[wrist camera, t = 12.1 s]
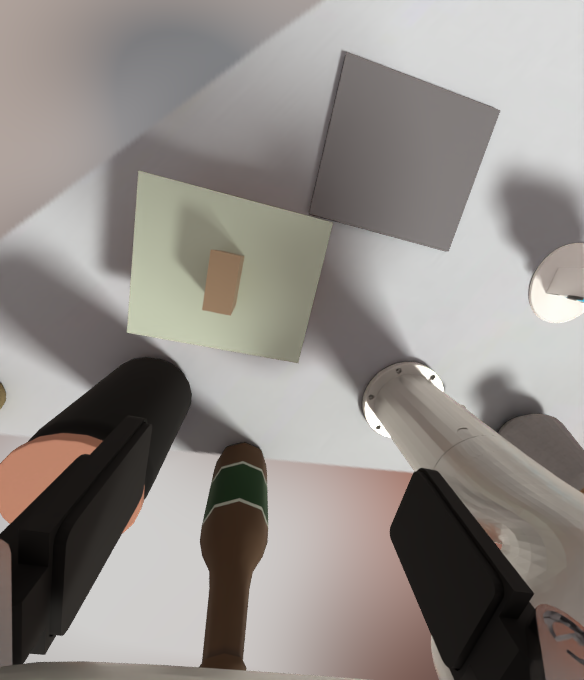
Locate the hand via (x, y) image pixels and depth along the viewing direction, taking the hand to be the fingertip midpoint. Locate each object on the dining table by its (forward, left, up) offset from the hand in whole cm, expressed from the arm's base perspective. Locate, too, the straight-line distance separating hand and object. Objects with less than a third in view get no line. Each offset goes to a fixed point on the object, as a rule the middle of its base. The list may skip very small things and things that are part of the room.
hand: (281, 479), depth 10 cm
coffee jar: (+13, +14, -29) cm, 35 cm away
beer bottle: (-1, +24, -29) cm, 38 cm away
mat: (-12, -21, -29) cm, 38 cm away
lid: (+5, -4, -22) cm, 23 cm away
